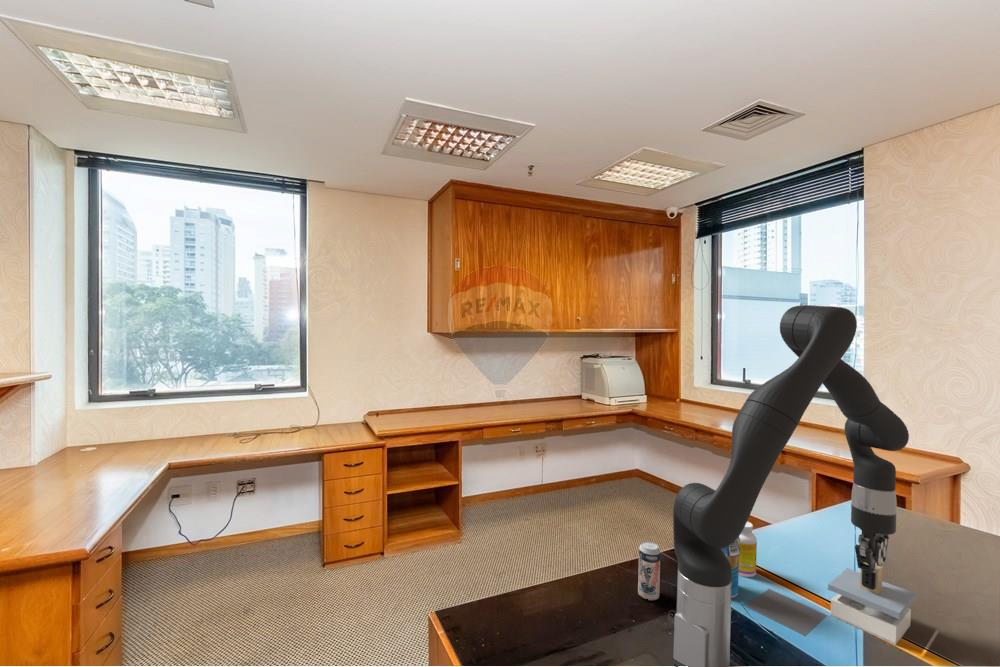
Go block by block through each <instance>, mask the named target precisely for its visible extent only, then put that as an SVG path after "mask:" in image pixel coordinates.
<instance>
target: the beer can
mask: <svg viewBox="0 0 1000 667" xmlns="http://www.w3.org/2000/svg"><path fill="white" fill-rule="evenodd" d="M660 574H661V549H660V547H659V546H658V544H656V543H655V542H651V541H643V542H641V543H640V545H639V549H638V584H637V594H638V595H639V596H640V597H641V598H643V600H646V599H648V600H647V601H656V600H658V599H659V598H660V581H661V580H660V579H661V578H660V576H661V575H660Z"/></svg>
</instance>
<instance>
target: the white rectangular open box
mask: <svg viewBox="0 0 1000 667" xmlns="http://www.w3.org/2000/svg"><path fill="white" fill-rule="evenodd" d="M911 613H912V609H911V607H908V609H907V610H906V611H905V612H904V614H903V615H902V616H901V617H900V619H898V618H895V617H893V616H890V615H888V614H886V613H883V612H881V611H878V610H876V609H874V608H871V607H869V606H866V605H864V604H862V603H859V602H857V601H854V600H852V599H850V598H847V597H845V596H842V595H840V594H837V593H836V595H835V596H833V597H832V598H831V599H830V617H833V618H835V619H837V620H838V621H840V622H843V623H846V624H847V625H850V626H852V627H854V628H856V629H858V630H861V631H863V632H865V633H867V634H869V635H872V636H874V637H876V638H878V639H880V640H883V641H884V642H886V643H889V644H892V645H893V646H896V645H897V644H898V643H899V641H900V640H901V639H902V638H903V636H904V635H905V633H906V632H907V630H908V629H909V628H910V626H911V619H912V618H911V617H912V616H911Z"/></svg>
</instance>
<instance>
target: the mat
mask: <svg viewBox="0 0 1000 667" xmlns="http://www.w3.org/2000/svg"><path fill="white" fill-rule="evenodd" d="M744 606H745V607H746V608H748V609H749V610H752V611H755V612H757V613H758V614H761V615H762V616H765V617H766V618H768V619H769V620H770V619H771V620H772V621H774V622H776V623H778V624H780V625H782V626H783V627H787V629H790V630H792V631H794V632H796V633H798V634H799V635H801V636H804V637H806V636H807V635H808V634H810V632H811V631H812V630H813V629H814V628H815V627H817V625H819V624H820V623H821V622H822V621H823V620H824V619H825V618H826V617H827V616H828V614H825V613H823V612H821V611H819V610H817V609H814V608H812V607H810V606H808V605H805V604H803V603H801V602H800V601H797V600H795V599H793V598H791V597H788V596H786V595H783V594H782V593H779V592H777V591H776V590H775V591H774V590H773V589H771V588H768V589H766V590H765V591H763V592H762V593H760V594H759V595H758V596H756V597H755V598H754V599H752V600H751V601H749V602H747V604H744Z"/></svg>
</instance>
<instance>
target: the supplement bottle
mask: <svg viewBox="0 0 1000 667" xmlns="http://www.w3.org/2000/svg"><path fill="white" fill-rule="evenodd" d="M753 528H754V525H753V523H751V522H749V521H748V520H747V523H746V525H745V527H744V529H743V531H742V532H741V534H740V536H739V538H740V542H739V543H738V545H739V547H740V555H739V575H738V577H739V576H740V577H743V578H752V577H755V576H756V574H757V551H758V550H757V549H758V548H757V544H758V542H757V541H758V540H757V537H756V535H755V533H753V530H754V529H753Z"/></svg>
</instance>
